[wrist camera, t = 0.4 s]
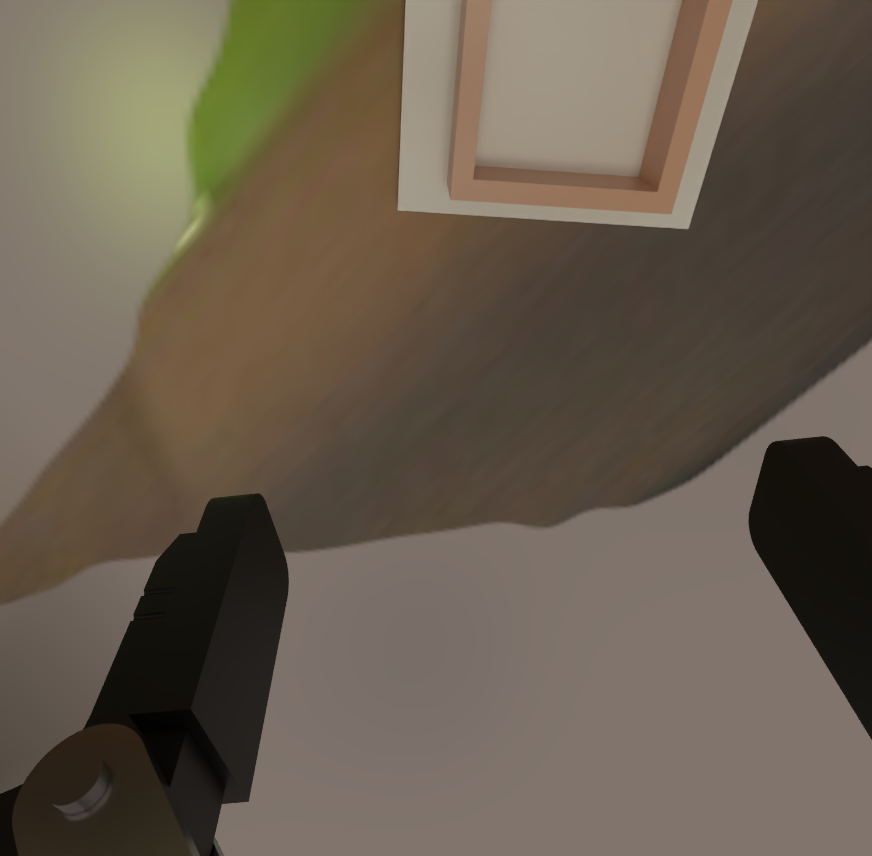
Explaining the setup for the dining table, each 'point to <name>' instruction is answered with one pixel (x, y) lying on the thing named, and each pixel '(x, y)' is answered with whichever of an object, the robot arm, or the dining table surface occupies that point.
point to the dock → (565, 106)
